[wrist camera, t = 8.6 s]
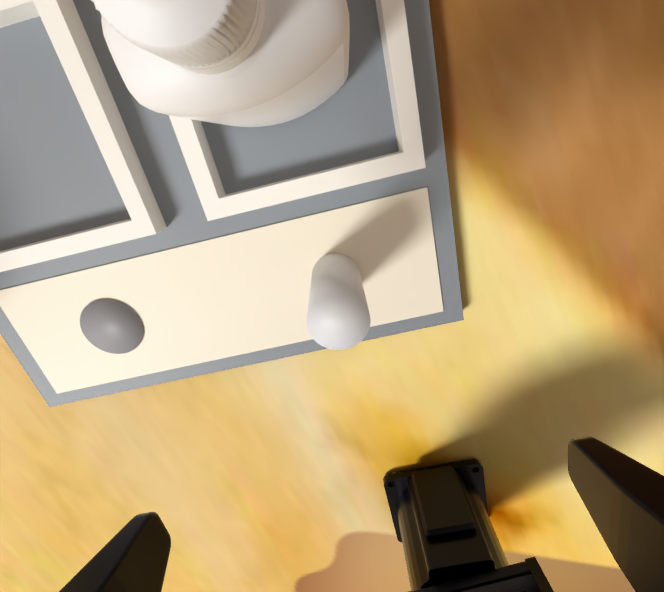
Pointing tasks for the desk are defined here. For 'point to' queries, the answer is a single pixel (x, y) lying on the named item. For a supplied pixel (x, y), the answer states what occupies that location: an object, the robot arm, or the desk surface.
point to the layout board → (213, 211)
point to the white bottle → (229, 56)
